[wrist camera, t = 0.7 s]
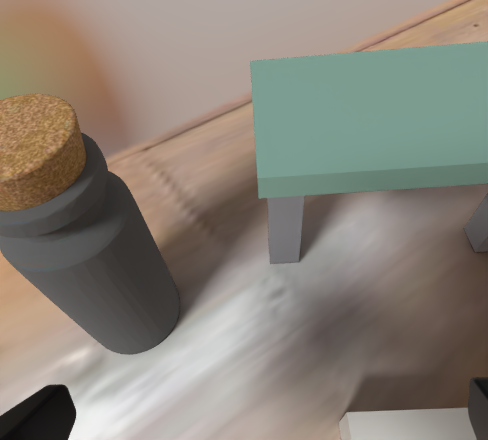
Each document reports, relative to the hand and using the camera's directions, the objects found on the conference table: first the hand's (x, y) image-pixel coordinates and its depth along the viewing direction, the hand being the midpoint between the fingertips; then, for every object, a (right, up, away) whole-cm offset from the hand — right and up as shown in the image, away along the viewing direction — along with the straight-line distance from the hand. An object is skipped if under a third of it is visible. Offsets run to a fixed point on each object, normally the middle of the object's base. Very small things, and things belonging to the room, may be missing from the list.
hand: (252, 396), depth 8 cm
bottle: (-7, -2, +17) cm, 18 cm away
